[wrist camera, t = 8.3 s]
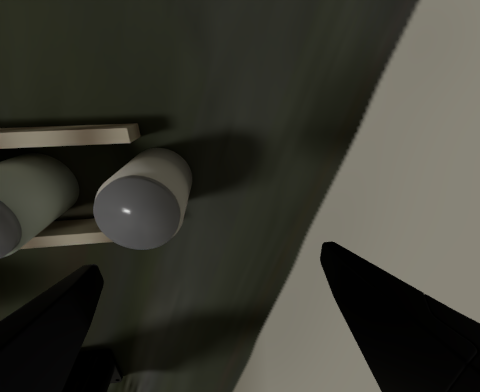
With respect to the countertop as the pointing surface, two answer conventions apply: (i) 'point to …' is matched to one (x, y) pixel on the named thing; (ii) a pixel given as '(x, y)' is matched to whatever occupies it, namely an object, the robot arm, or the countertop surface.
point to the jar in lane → (32, 197)
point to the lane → (68, 136)
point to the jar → (144, 200)
